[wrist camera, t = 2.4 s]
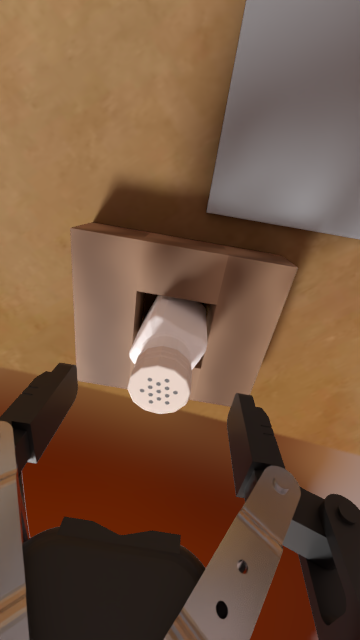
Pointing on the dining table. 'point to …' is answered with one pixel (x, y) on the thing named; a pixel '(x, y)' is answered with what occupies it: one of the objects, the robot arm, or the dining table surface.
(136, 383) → the salt shaker
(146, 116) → the dining table surface
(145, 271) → the shaker holder
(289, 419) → the dining table surface
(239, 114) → the placemat
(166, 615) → the robot arm
